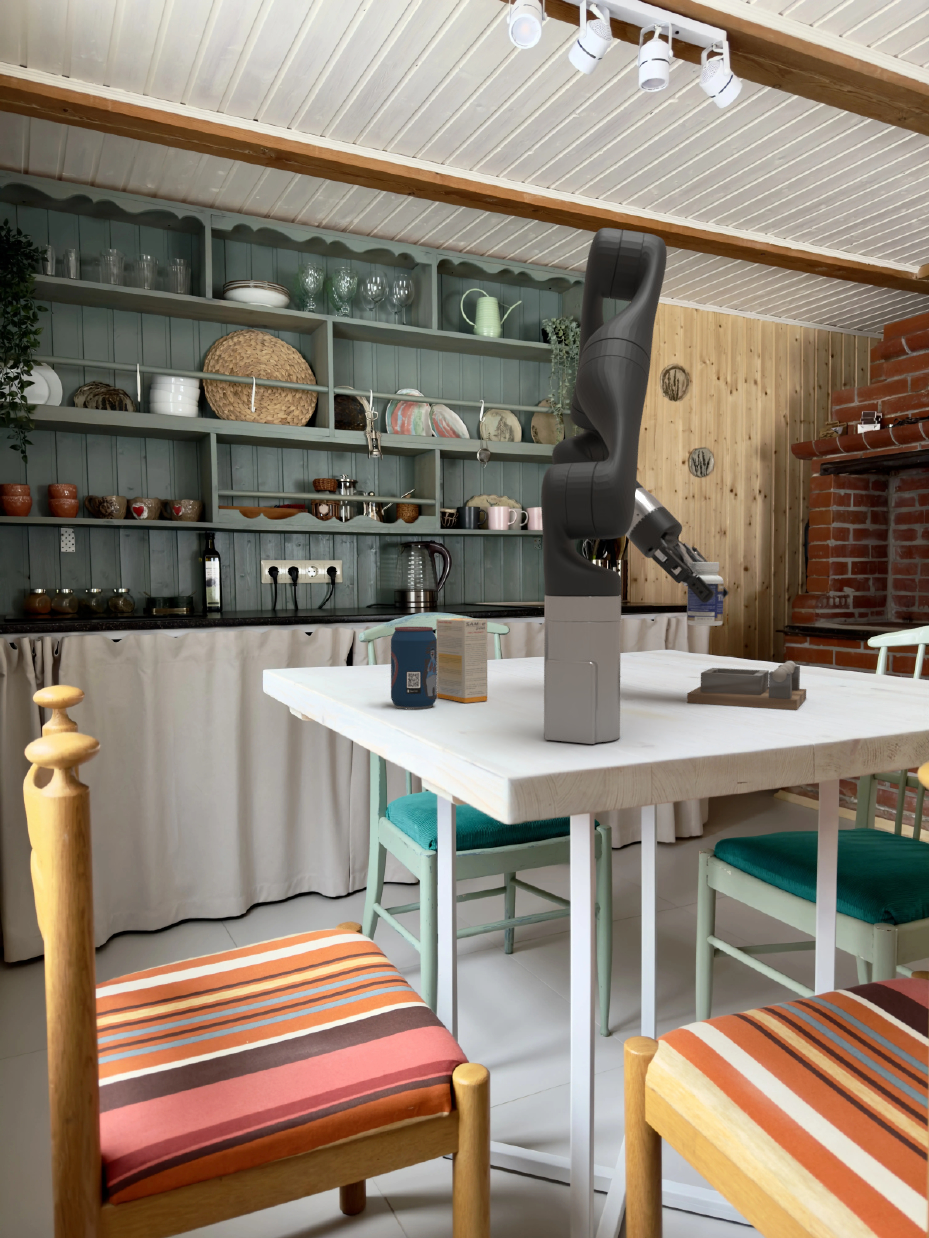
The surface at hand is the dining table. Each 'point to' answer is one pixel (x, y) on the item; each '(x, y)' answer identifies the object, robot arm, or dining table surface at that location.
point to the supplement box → (462, 659)
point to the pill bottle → (713, 608)
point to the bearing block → (751, 688)
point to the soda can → (413, 667)
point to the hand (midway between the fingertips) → (717, 598)
